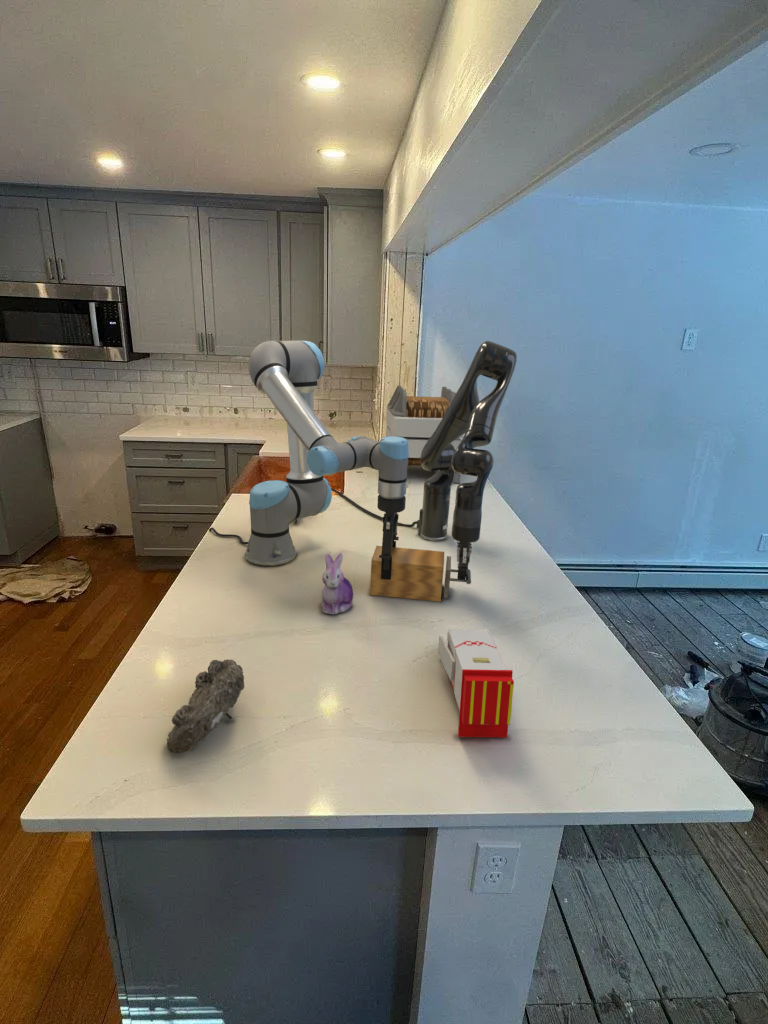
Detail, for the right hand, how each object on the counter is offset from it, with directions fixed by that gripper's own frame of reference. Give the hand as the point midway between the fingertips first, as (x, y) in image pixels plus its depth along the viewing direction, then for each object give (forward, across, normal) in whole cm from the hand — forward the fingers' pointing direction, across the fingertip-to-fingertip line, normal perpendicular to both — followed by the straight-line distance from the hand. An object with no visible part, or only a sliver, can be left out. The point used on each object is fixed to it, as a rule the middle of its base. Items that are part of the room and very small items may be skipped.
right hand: (461, 580), depth 157 cm
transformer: (+4, +122, +18) cm, 124 cm away
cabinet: (+4, 0, +15) cm, 16 cm away
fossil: (+5, -59, +48) cm, 76 cm away
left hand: (-1, 0, +20) cm, 21 cm away
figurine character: (+4, +48, +60) cm, 77 cm away
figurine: (+5, -13, +32) cm, 35 cm away
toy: (+5, -43, -2) cm, 43 cm away
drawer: (+4, 0, +9) cm, 10 cm away
